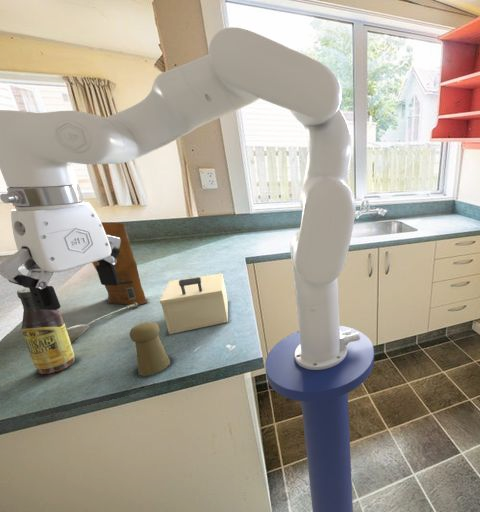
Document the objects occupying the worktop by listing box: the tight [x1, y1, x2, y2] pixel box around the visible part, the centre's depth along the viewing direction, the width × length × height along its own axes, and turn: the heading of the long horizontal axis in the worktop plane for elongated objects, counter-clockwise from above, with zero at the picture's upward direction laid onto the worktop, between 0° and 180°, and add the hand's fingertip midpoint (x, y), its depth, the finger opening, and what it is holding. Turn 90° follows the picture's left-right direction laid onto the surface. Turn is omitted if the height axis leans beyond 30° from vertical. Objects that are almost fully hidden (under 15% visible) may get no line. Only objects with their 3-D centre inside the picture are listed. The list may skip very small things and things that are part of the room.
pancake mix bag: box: [91, 221, 148, 306], centre depth 96 cm, size 7×19×28 cm, turn 77°
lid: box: [159, 272, 224, 304], centre depth 87 cm, size 15×15×5 cm
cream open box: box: [160, 277, 229, 335], centre depth 90 cm, size 15×15×10 cm
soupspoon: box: [66, 303, 139, 343], centre depth 86 cm, size 22×3×7 cm
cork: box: [129, 321, 171, 377], centre depth 67 cm, size 6×6×11 cm
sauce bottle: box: [16, 287, 76, 375], centre depth 66 cm, size 6×6×20 cm
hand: (83, 295), depth 52 cm, fingers open, 9 cm apart
